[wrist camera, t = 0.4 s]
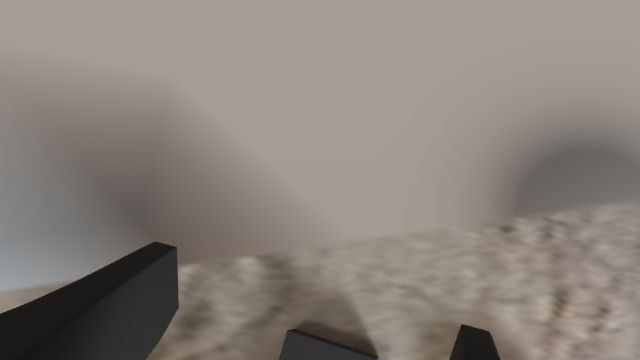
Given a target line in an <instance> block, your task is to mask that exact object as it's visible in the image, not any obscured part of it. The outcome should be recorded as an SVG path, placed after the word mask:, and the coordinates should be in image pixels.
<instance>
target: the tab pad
mask: <svg viewBox="0 0 640 360" xmlns="http://www.w3.org/2000/svg"><path fill="white" fill-rule="evenodd" d="M378 358H379V357H378V356H376V355H373V354H370V353H367V352H363V351H360V350H357V349H354V348H351V347H348V346H345V345H342V344H339V343H336V342H333V341H330V340H326V339H323V338H320V337H317V336H314V335H311V334H308V333H305V332H302V331H299V330H296V329H293V330H288V331H287V335H286V338H285V342H284V345H283V349H282V352H281V356H280V359H279V360H378Z"/></svg>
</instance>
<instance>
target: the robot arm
mask: <svg viewBox="0 0 640 360" xmlns="http://www.w3.org/2000/svg"><path fill="white" fill-rule="evenodd" d="M178 308H179V301H178V272H177V247H174V246H170V245H167V244H163V243H159V242H153V243H151V244H149V245H147V246H145V247H143V248H141V249H139V250H137V251H135V252H133V253H131V254H129V255H127V256H125V257H123V258H121V259H119V260H117V261H115V262H113V263H111V264H109V265H107V266H105V267H104V268H101V269H100V270H97V271H95V272H93V273H91V274H89V275H87V276H85V277H84V278H81V279H79V280H77V281H75V282H73V283H71V284H69V285H67V286H64V287H62V288H60V289H58V290H56V291H53V292H51V293H49V294H47V295H45V296H42V297H40V298H38V299H36V300H34V301H31V302H29V303H26V304H24V305H21V306H19V307H16V308H14V309H11V310H9V311H6V312H4V313H1V314H0V360H146V358H147V357H148V356H149V354H150V353H151V352H152V350H153V349H154V348H155V346H156V345H157V344H158V342H159V341H160V339H161V337H162V336H163V334H164V332H165V331H166V329H167V327H168V326H169V324H170V322H171V320H172V318H173V317H174V315H175V313H176V311H177V310H178ZM450 360H501V359H500V357H499V354H498V352H497V349H496V346H495V343H494V340H493V337H492V336H491V334H490V332H489V331H485V330H482V329H478V328H474V327H471V326H467V325H463V324H461V327H460V330H459V333H458V336H457V339H456V342H455V345H454V348H453V351H452V354H451V357H450Z"/></svg>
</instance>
